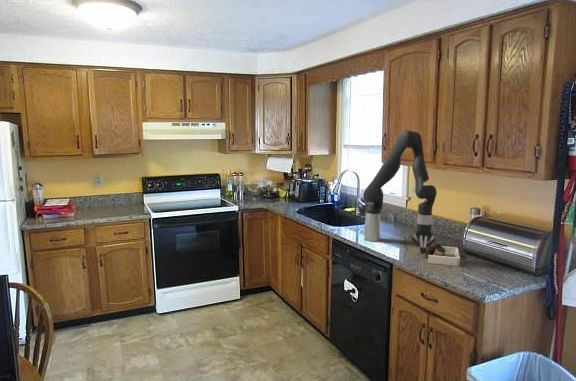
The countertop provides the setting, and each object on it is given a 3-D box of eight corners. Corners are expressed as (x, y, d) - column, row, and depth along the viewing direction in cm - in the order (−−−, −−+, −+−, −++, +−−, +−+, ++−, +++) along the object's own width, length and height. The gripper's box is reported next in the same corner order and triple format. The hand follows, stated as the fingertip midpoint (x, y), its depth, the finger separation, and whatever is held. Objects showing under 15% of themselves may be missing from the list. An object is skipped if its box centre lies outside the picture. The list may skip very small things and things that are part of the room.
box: (427, 262, 206) (428, 255, 205) (428, 252, 224) (428, 245, 224) (459, 266, 201) (459, 258, 200) (457, 254, 219) (457, 247, 219)
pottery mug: (426, 253, 224) (435, 241, 222) (440, 264, 218) (449, 251, 216) (419, 252, 214) (427, 240, 212) (433, 264, 209) (442, 251, 207)
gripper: (437, 222, 214) (435, 253, 217) (411, 220, 218) (410, 250, 221) (437, 225, 207) (435, 257, 210) (411, 223, 211) (409, 254, 214)
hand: (422, 253), depth 215 cm, fingers closed
